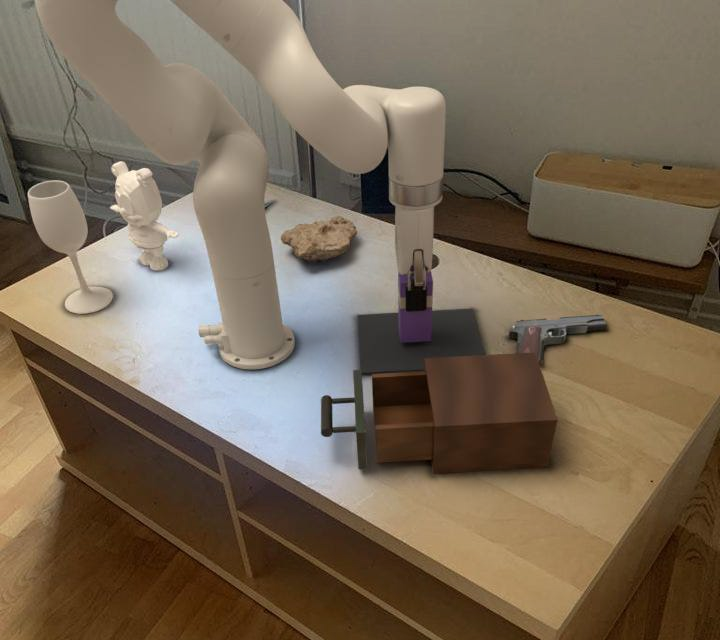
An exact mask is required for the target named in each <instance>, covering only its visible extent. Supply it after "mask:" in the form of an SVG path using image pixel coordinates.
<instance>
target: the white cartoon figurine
mask: <svg viewBox="0 0 720 640" xmlns="http://www.w3.org/2000/svg"><path fill="white" fill-rule="evenodd" d="M110 171H111V173H112V174H113V175H114V177H116V179H115V180H116V181H115V185H114V188H115V192H114V197H115V201H116V204H113V205H111V206H110V207H109V209H111V210H112V211H114V212H117V213H119V214H120V215H121V216H122V219H123V220H124V221H125V222H126V223H127V233H128V240H129V241H130V242H131V243H133V244H134V246H135V248H137V249H138V250H142V251H143V252H141V254H140V258H139V260H140V263H141V265H142V266H149V267H150V269H151V270H153V271H163V270H166V269H167V268H168V266H169V261H168V259H167V258H166V257H165V256H164V255H163V253H164V249H165V248H164V245H165V244H166V242H167V241H168V239H170V238H173V239H176V238H178V237H179V236H180V233H179V232H177V231H175V230H173V229H169V228H167V227H166V226H165V225H164V224H162V223H161V222H158V220H159V218H160V216H161V213H162V210H163V200H162V196H161V193H160V191H159V188H158V185H157V182H156V181H155V180H154V178H153V176H154V175H153V172H152V171H151V170H150V168H147V167H141V168H140V169H138V170H135V169H132V170H130V171H129V167H128V166H127V164H126V162H125V161H121V160H120V161H118V162H115V163H113V164H112V166H110Z"/></svg>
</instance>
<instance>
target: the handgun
mask: <svg viewBox="0 0 720 640" xmlns="http://www.w3.org/2000/svg"><path fill="white" fill-rule="evenodd" d="M606 327H607V323H606V319H605V317H604V315H603V314H595V315H594V314H592V315H578V316H563V317H561V316H560V317H559V319H547V318H538V319H526V320H525V319H520V320H516V321H515V323H514V325H511V329H509V331H508V337H507V338H508V339H514V340H516V346H515V347H516V351H515V353H532V352H535V353H536V356H537V359H538V362H539V365H543V364H544V363H545V360H543V359H544V358H543V357H544V347H545V346H547V345H556V344H557V345H558V344H563V343H564V342H565V341H566V338H567V335H573V334H575V335H576V334H587V332H591V331H592V332H594V331H604V330H606Z"/></svg>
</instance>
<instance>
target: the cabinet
mask: <svg viewBox="0 0 720 640" xmlns="http://www.w3.org/2000/svg"><path fill="white" fill-rule="evenodd" d="M424 371H426V378H427V384H428V390H429V397H430V403H431V410H432V416H433V423H434V441H433V459H431V460H430V463H431V470H432V471H431V472H432V474H447V473H448V474H449V473H465V472H466V473H467V472H485V471H486V472H487V471H503V470H522V469H523V470H525V469H540V468H548V467H549V463H550V459H551V458H550V457H551V453H552V448H553V444H554V438H555V435H556V429H557V425H558V421H559V419H558V417H557V412H556V411H555V408H554V404H553V401H552V398H551V395H550V392H549V389H548V386H547V383H546V380H545V378H544V374H543V370H542V368H541V364H539V362H538V359H537V356H536V353H535V352H532V353H516V352H514V353H498V354H497V353H495V354H484V355H477V356H459V357H440V358H425V359H424Z"/></svg>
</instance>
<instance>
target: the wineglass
mask: <svg viewBox="0 0 720 640" xmlns="http://www.w3.org/2000/svg"><path fill="white" fill-rule="evenodd" d="M27 199H28V200H27V201H28V206H29V211H30V215H31V218H32V222H33V225H34V227H35V230H36V232H37V234H38V236H39V238H40V240H41V241H42V242H43V244H45V245H46V246H47V247H48V248H50V249H51V250H53V251H56V252H57V253H61V254H65V255H66V256H68V257H69V259H70V261H71V264H72V266H73V268H74V271H75V274H76V277H77V280H78V284H79V286H80V289H77V290H75V291H74V292H72V293H71V294H69V296H67V297H66V299H65V300H64V308H65V309H66V310H67V311H69V313H73V314H77V315H84V314H92V313H95V312H98V311H101V310H103V309H104V308H106V307H107V306H108V305H110V303H112V301H113V299H114V293H113V292H112V291H111V290H110V288H109V289H108V288H106V287H103V286H88V283H87V281H86V279H85V277H84V275H83V271H82V269H81V266H80V263H79V260H78V255H77V253H78V251H79V250H80V249H81V248H82V247H83V246H84V244H85V243H86V240H87V237H88V231H89V228H88V223H87V219H86V216H85V212H84V210H83V208H82V205H81V203H80V201H79V199H78V198H77V196H76V194H75V192H74V190H73V189H72V187H71V185H70V184H69V183H67V182H66V181H64V180H57V179H56V180H53V179H52V180H46V181H42V182H40V183H36V184H35V185H33V186H32V187H30V188H29V189H28V191H27Z"/></svg>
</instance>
